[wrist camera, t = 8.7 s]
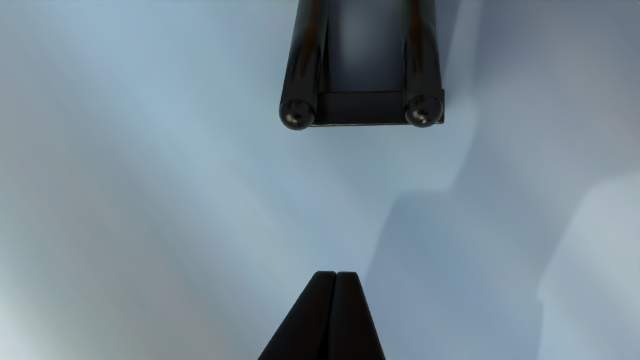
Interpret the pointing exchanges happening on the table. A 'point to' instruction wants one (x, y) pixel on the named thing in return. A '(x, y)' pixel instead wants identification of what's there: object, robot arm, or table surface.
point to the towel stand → (361, 106)
